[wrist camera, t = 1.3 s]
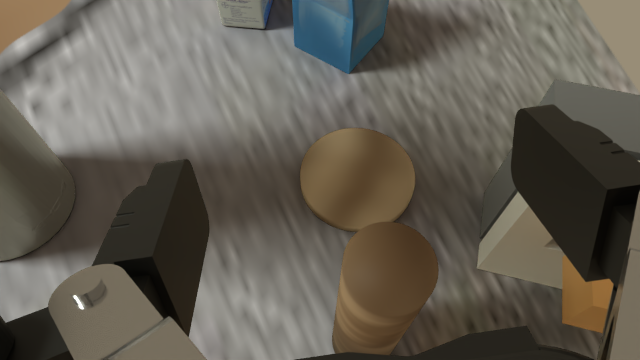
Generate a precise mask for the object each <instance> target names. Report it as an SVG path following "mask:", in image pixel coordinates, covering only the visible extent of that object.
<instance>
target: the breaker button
mask: <svg viewBox="0 0 640 360" xmlns="http://www.w3.org/2000/svg"><path fill="white" fill-rule="evenodd" d="M612 288H613V283H612V282H611V280H610V279H604V280H597V281H590V282H585V281H584V279H583V278H582V277H581V275H580V274H579V273H578V271H577V270H576V269H575V267H574V266H573V265H572V263H571V262H570V260H569V259H568V258H567V256H566V255H564V256H563V257H562V323H564V324H568V325H572V326H576V327H580V328H584V329H588V330H592V331H596V332H600V333H602V332H603V328H604V323H605V318H606V314H607V309H608V304H609V300H610V295H611V292H612Z"/></svg>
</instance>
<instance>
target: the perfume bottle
mask: <svg viewBox="0 0 640 360" xmlns="http://www.w3.org/2000/svg"><path fill="white" fill-rule="evenodd" d="M388 2H389V0H292V4H293V24H294V44H295V47H297V48H299V49H301V50H303V51H305V52H307V53H309V54H311V55H313V56H315V57H316V58H318V59H320V60H322V61H324V62H326V63H328V64H330V65H332V66H334V67H336V68H338V69H340V70H342V71H343V72H345V73H347V74H349V73H350V72H351V71H352V70H353V69H354V68H355V66H356V65H357V64H358V63H359V62H360V61H361V60H362V59H363V58H364V56H365V55H366V54H367V53H368V52H369V51H370V50H371V49H372V48H373V46H374V45H375V44H376V43H377V42H378V41H379V40H380V39H381V38H382V36H383V34H384V28H385V21H386V15H387V9H388Z"/></svg>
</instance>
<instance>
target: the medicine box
mask: <svg viewBox="0 0 640 360" xmlns="http://www.w3.org/2000/svg"><path fill="white" fill-rule="evenodd" d="M272 1H273V0H217V5H218V9H219V13H220V17H221V22H222V25H224V26H234V27H246V28H259V29H265V26H266V23H267V19H268V15H269V12H270V8H271V5H272Z"/></svg>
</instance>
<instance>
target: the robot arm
mask: <svg viewBox="0 0 640 360" xmlns="http://www.w3.org/2000/svg"><path fill="white" fill-rule="evenodd" d="M511 175H512V180H513V183H514V185H515V187H516V189H517V191H518V192H519V193H520V195H521V196H522V197H523V199H524V200H525V201H526V203H527V204H528V205H529V207H530V208H531V210H532V211H533V212H534V214H535V215H536V216H537V218H538V219H539V220H540V222H541V223H542V224H543V226H544V227H545V228H546V230H547V231H548V232H549V234H550V235H551V236H552V238H553V239H554V240H555V242H556V243H557V244H558V246H559V247H560V248H561V250H562V251H563V252H564V254H565V255H566V256H567V258H568V259H569V260H570V262H571V263H572V265H573V266H574V267H575V269H576V270H577V271H578V273H579V274H580V275H581V277H582V278H583V279H584V281H585V282H590V281H597V280H604V279H610V280H611V282H612V283H613V288H612V292H611V295H610V300H609V304H608V309H607V314H606V318H605V323H604V328H603V332H602V337H601V342H600V347H599V351H598V356H597V360H640V162H639V161H638V160H636V159H635V158H634V157H633V156H631V155H630V154H629V153H628V152H627V153H625V151H624V149H623V148H621V147H620V146H619V145H618V144H617V143H613V140H612V139H610V138H609V137H608V136H607V135H605V134H604V133H603V132H602V131H600V130H599V129H597V128H595V127H592V126H590V125H587V124H585V123H582V122H580V121H573V120H572V119H571V118H570V117H568V116H567V115H566V114H565V113H564V112H562V111H561V110H560V109H559V108H558V107H557V106H555V105H553V104H550V105H543V106H537V107H530V108H523V109H520V110H519V111H518V112H517V114H516V118H515V127H514V137H513V147H512V158H511ZM74 200H75V184H74V181H73V177H72V175H71V174H70V172H69V171H68V169H67V168H66V167H65V166H64V165H63V163H62V162H61V161H60V160H59V159H58V157H57V156H56V155H55V154H54V153H53V151H52V150H51V149H50V148H49V147H48V145H47V144H46V143H45V142H44V140H43V139H42V138H41V137H40V135H39V134H38V133H37V132H36V131H35V130H34V128H33V127H32V126H31V125H30V124H29V122H28V121H27V120H26V119H25V118H24V116H23V115H22V114H21V113H20V112H19V110H18V109H17V108H16V107H15V106H14V105H13V103H12V102H11V101H10V100H9V99H8V97H7V96H6V95H5V94H4V93H3V91H2V90H1V89H0V261H3V260H10V259H13V258H16V257H20V256H23V255H25V254H27V253H29V252H31V251H33V250H35V249H37V248H39V247H40V246H41V245H43V244H44V243H46V242H47V241H48V240H50V239H51V238H52V237H53V236H54V235H55V234H56V233H57V232H58V231H59V230H60V229H61V227H62V226H63V224H64V223H65V222H66V220H67V219H68V217H69V215H70V212H71V210H72V208H73V204H74ZM116 215H117V217H115V219H114V221H113V223H112V225H111V229H109V231H108V233H107V235H106V237H105V239H104V242H103V244H102V246H101V248H100V250H99V252H98V254H97V256H96V258H95V260H94V262H93V264H92V267H88V268H86V269H83V270H81V271H79V272H77V273H75V274H74V275H72V276H70V277H69V278H68V279H66V280H65V281H64V282H63V283H61V284H60V285H59V286H58V287H57V289H56V290H55V291H54V292H53V294H52V296H51V298H50V300H49V304H48V307H47V308H44V309H42V310H39V311H36V312H34V313H31V314H28V315H26V316H23V317H20V318H18V319H15V320H12V321H10V322H7V323H5V321H4V320H3V319H2V317H1V316H0V360H207V359H206V358H205V357H204V356H203V354H202V353H201V352H200V351H199V350H198V348H197V347H196V346H195V345H194V344H193V342H192V341H191V340H190V339H189V338H188V337H189V332H190V327H191V322H192V317H193V312H194V307H195V302H196V297H197V292H198V287H199V282H200V277H201V272H202V267H203V262H204V257H205V252H206V247H207V242H208V237H209V220H208V214H207V210H206V207H205V204H204V201H203V198H202V195H201V192H200V189H199V186H198V183H197V180H196V177H195V174H194V171H193V168H192V165H191V163H190V162H189V160H187V159H184V160H178V161H171V162H165V163H158V164H156V165H155V166H154V169H153V171H152V173H151V176H150V178H149V180H148V183H147V185H146V186H139V187H137V188H136V189H135V190H134V191H133V192H132V193H131V194H129V195H128V196H127V197H126V198H125V199H124V200H123V202H122V204H121V206H120V208H119V210H118V212H117V214H116ZM296 360H594V359H592V358H589V357H586V356H584V355H581V354H578V353H576V352H572V351H569V350H565V349H561V348H557V347H551V346H545V345H537V344H536V342H535V340H534V339H533V337H532V335H531V333H530V331H529V329H528V327H527V326H522V327H515V328H509V329H502V330H495V331H488V332H481V333H474V334H468V335H465V336H463V337H460V338H458V339H455V340H453V341H450V342H448V343H445V344H443V345H440V346H438V347H435V348H433V349H430V350H428V351H425V352H423V353H420V354H418V355H415V356H393V355H380V354H367V353H355V352H344V353H337V354H330V355H324V356H317V357H310V358H303V359H296Z"/></svg>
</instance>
